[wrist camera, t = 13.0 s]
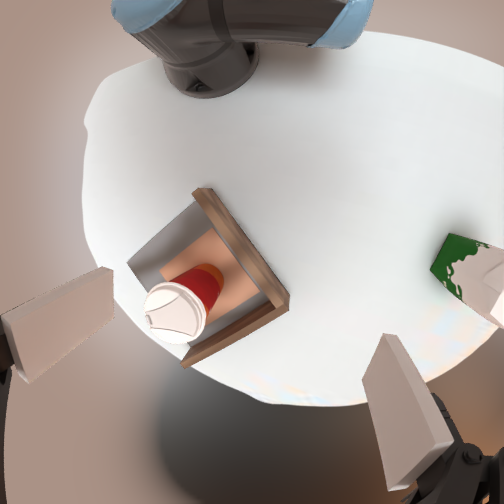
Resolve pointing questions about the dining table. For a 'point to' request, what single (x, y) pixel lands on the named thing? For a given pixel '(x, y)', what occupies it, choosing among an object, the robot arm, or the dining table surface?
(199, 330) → the paper cup
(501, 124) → the dining table surface
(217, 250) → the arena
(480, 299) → the milk carton
